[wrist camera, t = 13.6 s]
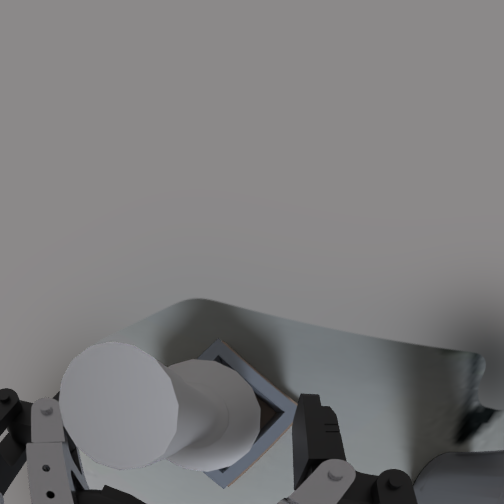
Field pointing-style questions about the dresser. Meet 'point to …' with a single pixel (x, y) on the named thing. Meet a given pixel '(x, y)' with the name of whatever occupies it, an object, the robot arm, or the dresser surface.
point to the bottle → (156, 410)
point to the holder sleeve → (271, 415)
